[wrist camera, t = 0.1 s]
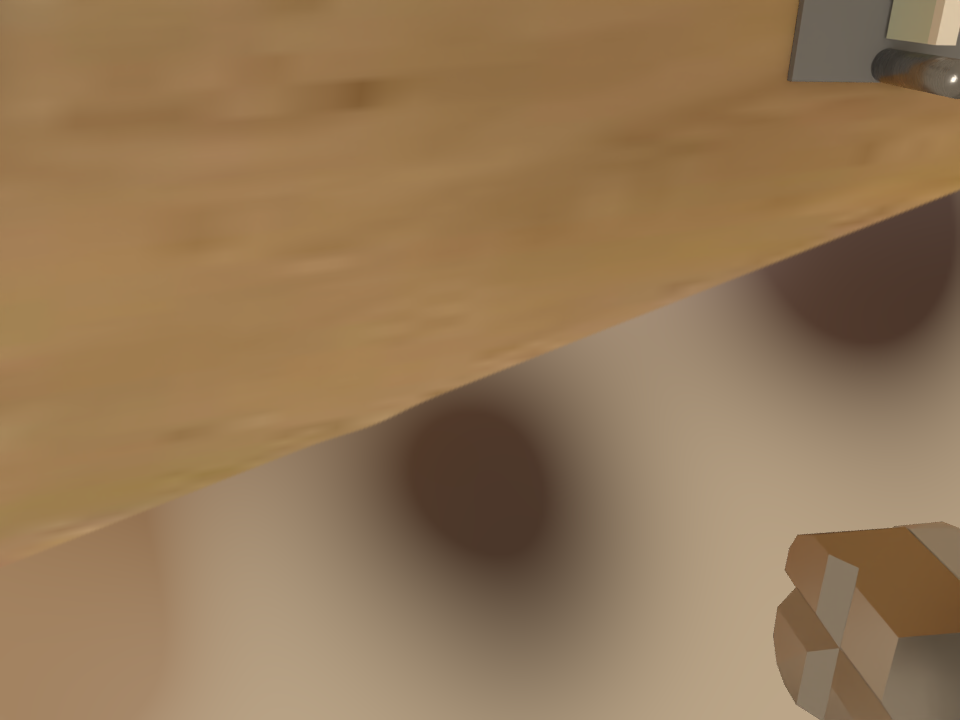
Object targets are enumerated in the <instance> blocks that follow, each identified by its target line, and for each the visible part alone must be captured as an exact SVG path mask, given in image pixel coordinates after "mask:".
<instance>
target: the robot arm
mask: <svg viewBox="0 0 960 720" xmlns="http://www.w3.org/2000/svg"><path fill="white" fill-rule="evenodd" d="M785 571H786V573H787V574H788V576H789V578H790V579H791V581H792V582H793V584H794V585H795V587H796V588H795V589H794V590H793V591H792V592H791V593H790V594H789V595H788V596H787V598H786V599H785V600H784V601H783V602H782V603H781V604H780V605H779V606H778V608H777V614H776V620H775V627H774V633H773V638H774V646H775V654H776V661H777V666H778V668H779V671H780V674H781V677H782V680H783V682H784V685H785V686H786V688H787V690H788V692H789V693H790V695H791V696H792V698H793V700H794V701H795V703H796V705H798V706H799V707H801V708H802V709H804V710H805V711H807V712H809V713H810V714H812V715H813V716H815V717H817V718H818V719H820V720H960V529H959V528H957V527H955V526H952V525H950V524H947V523H944V522H933V523H922V524H913V525H901V526H894V527H893V528H884V529H870V530H857V531H842V532H828V533H815V534H802V535H797V536H796V538H795V540H794V542H793V543H792V545H791V546H790V548H789V552H788V557H787V562H786V566H785Z"/></svg>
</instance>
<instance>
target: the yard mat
mask: <svg viewBox="0 0 960 720" xmlns="http://www.w3.org/2000/svg"><path fill="white" fill-rule="evenodd" d="M893 1H894V0H800V2H799V8H798V15H797V21H796V28H795V34H794V40H793V47H792V53H791V60H790V66H789V73H788V79H787V80H789V81H805V82H879V81H877V80H875V79H874V78H873V76H872V73H871V64H872V61H873V59H874V57H875V56H876V55H877V54H878V53H879V52H880V51H882V50H884V49H887V48H891V49H898V50H904V51H911V52H917V53H923V54H930V55H936V56H943V57H949V58H955V59H960V29H959V33H958V37H957V42H956V46H954V45H931V44H924V43H917V42H909V41H902V40H895V39H888V38H886V37H887V32H888V26H889V21H890V16H891V11H892V6H893Z"/></svg>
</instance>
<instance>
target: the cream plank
mask: <svg viewBox="0 0 960 720" xmlns="http://www.w3.org/2000/svg"><path fill="white" fill-rule="evenodd" d="M959 29H960V0H894V1H893V6H892V11H891V16H890V21H889V26H888V32H887V37H886V38H888V39H895V40H902V41H909V42H917V43H924V44H931V45H954V46H956V42H957V37H958V33H959Z"/></svg>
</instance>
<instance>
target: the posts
mask: <svg viewBox="0 0 960 720" xmlns="http://www.w3.org/2000/svg"><path fill="white" fill-rule="evenodd" d="M871 73H872V76H873V78H874V79H875V80H877V81H879V82H882V83H887V84H891V85H896V86H900V87H905V88H909V89H914V90H918V91H923V92H927V93H932V94H936V95H941V96H945V97H950V98H954V99H960V59H955V58H949V57H943V56H936V55H930V54H923V53H917V52H911V51H904V50H898V49H891V48H887V49H884V50H882V51H880V52H879V53H878V54H877V55H876V56H875V57H874V59H873V61H872V64H871Z"/></svg>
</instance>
